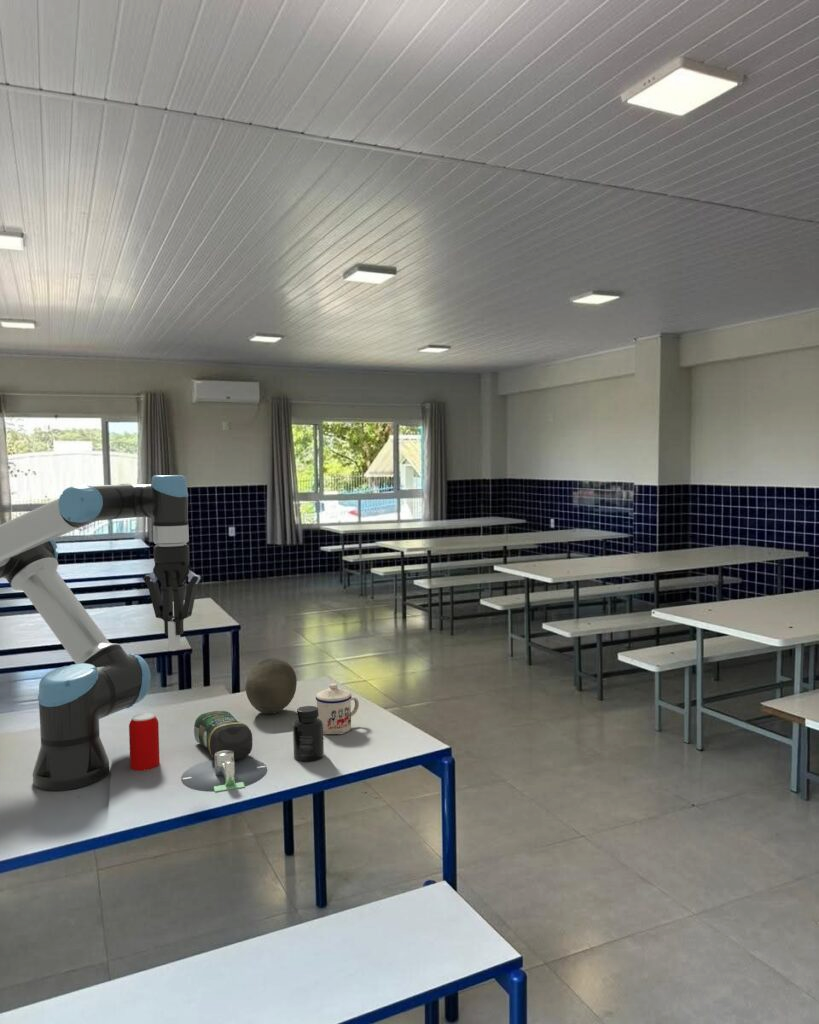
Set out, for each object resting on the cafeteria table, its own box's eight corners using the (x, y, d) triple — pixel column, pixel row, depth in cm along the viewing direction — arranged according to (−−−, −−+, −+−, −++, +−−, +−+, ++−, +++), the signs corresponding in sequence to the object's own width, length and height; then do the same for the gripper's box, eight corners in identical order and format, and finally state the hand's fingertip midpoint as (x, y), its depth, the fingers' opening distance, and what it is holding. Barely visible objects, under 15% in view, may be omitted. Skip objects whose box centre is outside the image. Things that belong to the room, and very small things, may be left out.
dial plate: (184, 802, 147) (183, 796, 147) (178, 768, 164) (178, 763, 164) (274, 787, 154) (273, 781, 154) (260, 756, 170) (259, 751, 170)
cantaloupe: (236, 712, 202) (235, 658, 201) (283, 702, 211) (281, 650, 210) (259, 726, 191) (258, 669, 190) (307, 715, 199) (306, 660, 199)
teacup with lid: (328, 738, 182) (327, 692, 181) (309, 728, 189) (308, 683, 188) (368, 727, 189) (367, 682, 188) (348, 718, 196) (348, 675, 196)
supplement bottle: (330, 758, 169) (329, 707, 168) (310, 768, 163) (308, 715, 162) (307, 752, 173) (306, 702, 172) (287, 762, 167) (286, 710, 166)
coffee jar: (231, 707, 182) (256, 724, 166) (232, 739, 182) (256, 759, 166) (192, 712, 177) (213, 730, 161) (192, 745, 177) (214, 767, 161)
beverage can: (125, 774, 161) (123, 720, 161) (139, 763, 167) (137, 711, 167) (151, 775, 160) (149, 721, 160) (164, 764, 167) (163, 712, 166)
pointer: (213, 770, 160) (213, 748, 160) (232, 766, 161) (232, 745, 161) (220, 788, 151) (220, 765, 150) (240, 784, 152) (240, 762, 152)
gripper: (206, 542, 166) (209, 645, 168) (152, 542, 168) (155, 644, 170) (191, 546, 159) (194, 654, 160) (135, 546, 161) (138, 652, 162)
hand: (174, 649), depth 165 cm, fingers closed
